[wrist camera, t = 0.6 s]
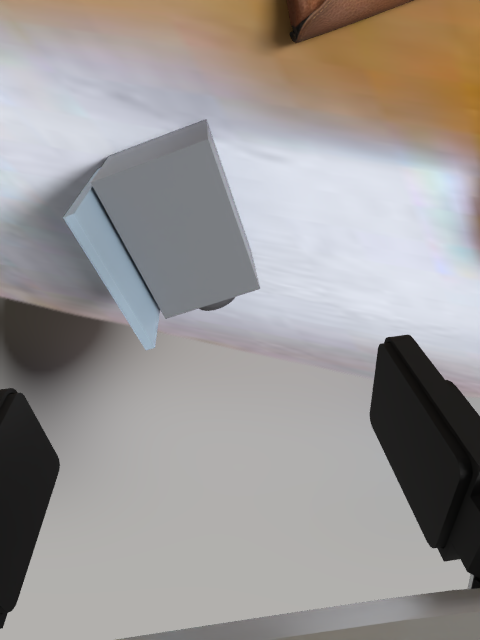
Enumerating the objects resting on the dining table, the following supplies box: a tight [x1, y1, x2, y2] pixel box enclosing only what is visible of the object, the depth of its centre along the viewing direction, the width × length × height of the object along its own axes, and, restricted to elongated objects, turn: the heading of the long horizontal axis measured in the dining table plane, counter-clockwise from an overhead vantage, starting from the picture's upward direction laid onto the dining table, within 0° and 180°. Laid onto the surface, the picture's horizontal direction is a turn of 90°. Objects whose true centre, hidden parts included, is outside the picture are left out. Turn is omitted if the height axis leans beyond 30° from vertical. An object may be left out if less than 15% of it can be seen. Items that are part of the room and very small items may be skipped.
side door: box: [63, 168, 160, 350], centre depth 34 cm, size 12×1×11 cm, turn 18°
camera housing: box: [91, 120, 260, 319], centre depth 35 cm, size 15×9×7 cm, turn 18°
